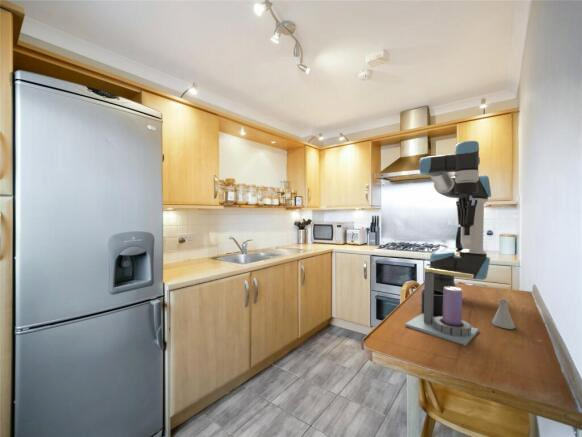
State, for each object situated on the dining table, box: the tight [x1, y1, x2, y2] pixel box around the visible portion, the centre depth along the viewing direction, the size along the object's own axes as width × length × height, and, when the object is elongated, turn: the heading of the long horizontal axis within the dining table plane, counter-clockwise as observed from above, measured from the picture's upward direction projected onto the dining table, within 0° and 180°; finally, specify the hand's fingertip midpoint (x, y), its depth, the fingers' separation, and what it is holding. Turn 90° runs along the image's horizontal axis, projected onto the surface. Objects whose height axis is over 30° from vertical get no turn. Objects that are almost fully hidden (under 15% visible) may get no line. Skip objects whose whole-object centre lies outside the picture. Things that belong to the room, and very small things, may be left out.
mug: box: [420, 289, 443, 317], centre depth 115 cm, size 9×12×9 cm
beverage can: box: [442, 286, 463, 327], centre depth 96 cm, size 6×6×15 cm
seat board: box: [404, 272, 479, 346], centre depth 99 cm, size 16×20×20 cm
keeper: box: [423, 267, 473, 280], centre depth 98 cm, size 4×16×1 cm, turn 43°
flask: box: [491, 298, 516, 330], centre depth 103 cm, size 7×7×10 cm
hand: (465, 243), depth 102 cm, fingers closed
